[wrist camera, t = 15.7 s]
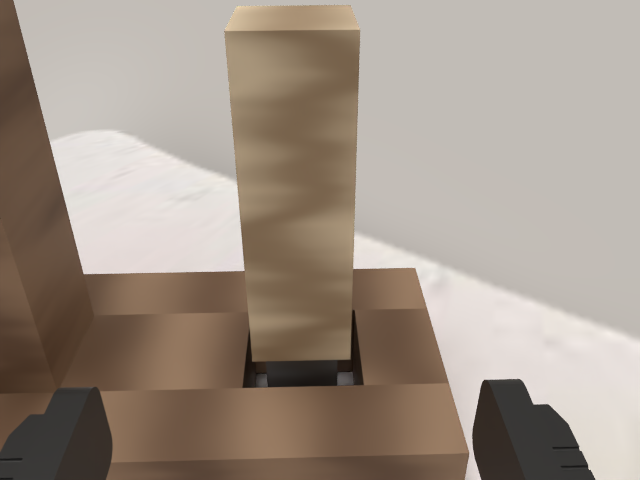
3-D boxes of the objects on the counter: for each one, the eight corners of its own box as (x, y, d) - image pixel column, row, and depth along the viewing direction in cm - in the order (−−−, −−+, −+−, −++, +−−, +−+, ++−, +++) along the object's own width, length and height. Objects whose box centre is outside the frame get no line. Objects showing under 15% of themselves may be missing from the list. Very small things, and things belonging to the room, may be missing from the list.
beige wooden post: (259, 444, 27) (224, 31, 18) (264, 380, 30) (236, 6, 21) (348, 442, 27) (359, 29, 18) (342, 378, 30) (350, 5, 21)
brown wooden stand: (-93, 536, 23) (-485, -105, 12) (28, 334, 33) (-122, -113, 22) (456, 520, 24) (575, -112, 12) (409, 326, 34) (451, -116, 23)
